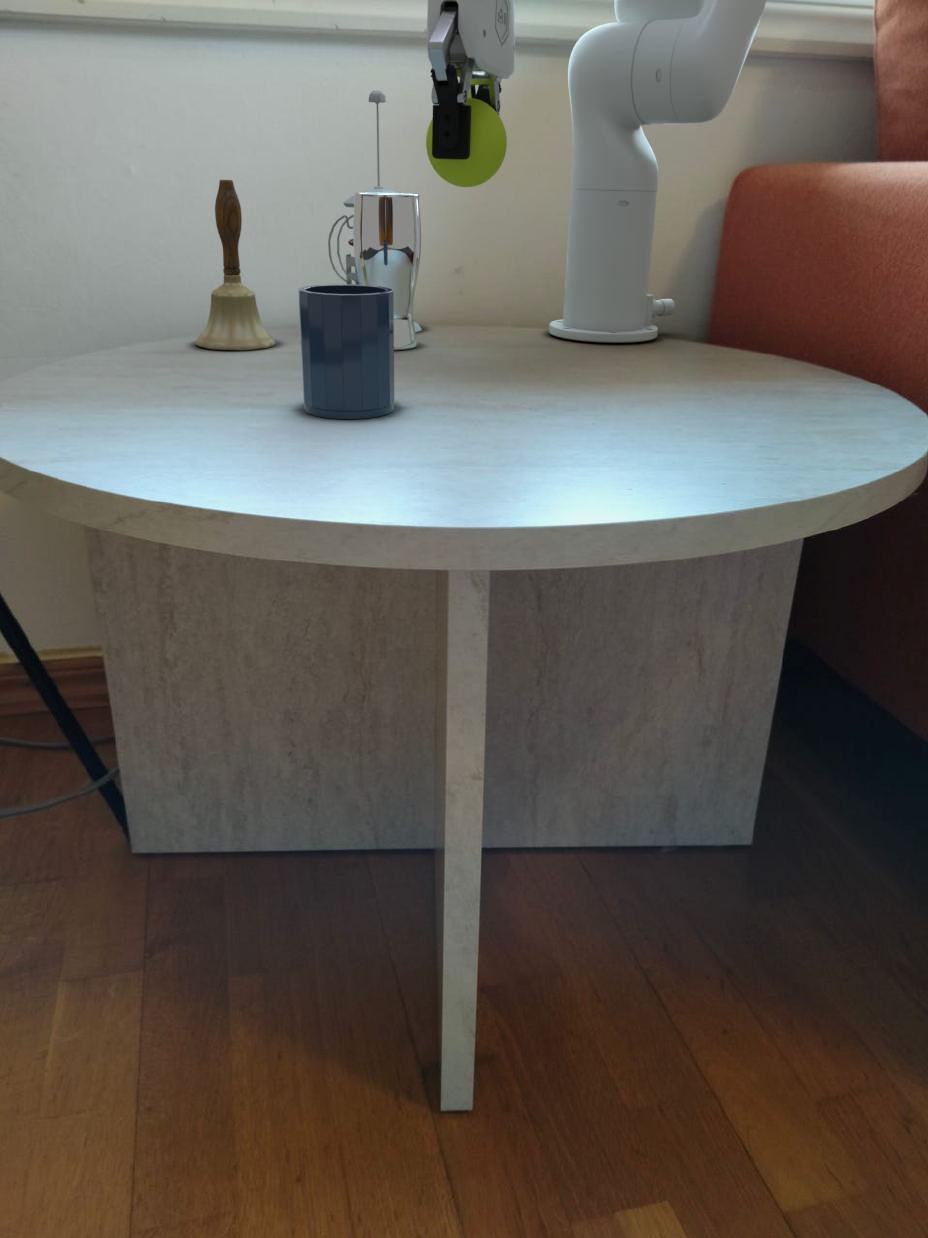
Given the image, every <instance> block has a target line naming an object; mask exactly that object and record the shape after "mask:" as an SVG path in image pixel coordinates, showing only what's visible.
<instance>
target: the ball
mask: <svg viewBox="0 0 928 1238" xmlns="http://www.w3.org/2000/svg"><path fill="white" fill-rule="evenodd" d="M466 105H470V106H471V136H470V156H469V158H468V159H466V160H462V159H436V158H434V157H433V156H432V123H433V117H432V118H431V120H430V122H429V124H428V128H427V130H426V135H425V148H426V154H427V156H428V160H429V162H430V165H431V166H432V169H433V170H434V171H435V172H436V174H437V175H438V176H439V177H440V178H441V179H443V180H444V181H445V182H447V183H449V184H451V185H453V186H456V187H459V188H473V187H477V186H480V185H482V184H485V183H486V182H488V181H489V180H491V179H492V178H493V177H494V176H495V175H496V174H497V172H498V171H499V169H500V168H501V166H502V165H503V162H504V160H505V157H506V153H507V146H508V139H507V131H506V128H505V124H504V122H503V120H502V118H501V116H500V114H499V115H498V114H497V112H496V111H495V110H494V109H493V108H492V107H491V106H489V105H488V104H487V103H485V102H483V101H481V100H478V99H475V98H468V100H467V104H466Z"/></svg>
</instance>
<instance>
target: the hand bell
mask: <svg viewBox="0 0 928 1238" xmlns="http://www.w3.org/2000/svg"><path fill="white" fill-rule="evenodd" d="M214 204H215V205H214V216H215V217H214V218H215V224H216V225H215V226H216V229H217V233H218V236H219V239H220V241H221V242H220V243H221V245H222V261H223V263H222V264H223V269H222V270H223V271H222V272H223V282H222V284H221V285H219V286H218V287H217V288H215V289H213V290H212V291H211V293H210V309H209V315H208V320H207V323H206V325H205V327H204V329H203V331H201V333H200V334H199V336H198V337H197V338H196V340H195V345H196V346H198V347H200V348H204V349H208V350H209V349H210V350H217V351H218V350H220V351H252V350H261V349H268V348H272V347H274V346H275V345H276V343H277V342H276V340H275V338H274V337H273V336H272V335H271V334H270V333H269V332H268V330H267V329H266V327H265V325H264V323H263V321H262V319H261V317H260V312H259V309H258V305H257V300H256V298H257V297H256V294H255V292H254V291H253V290H252V289H250V288H248V287H246V286H245V285H244V284H243V282H242V278H241V273H242V272H241V268H240V254H239V243H240V239H241V234H242V225H243V224H242V222H243V221H242V220H243V218H242V217H243V216H242V215H243V214H242V207H241V203H240V199H239V196H238V194H237V191H236V188H235V185H234V181H233V179H219V183H218V189H217V193H216V198H215V203H214Z"/></svg>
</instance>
